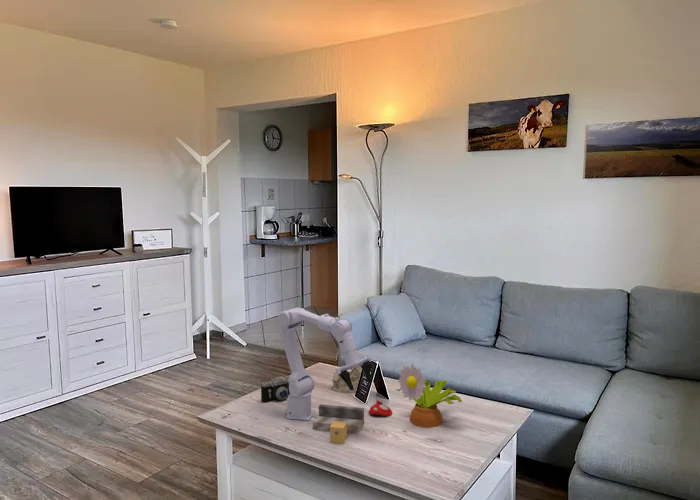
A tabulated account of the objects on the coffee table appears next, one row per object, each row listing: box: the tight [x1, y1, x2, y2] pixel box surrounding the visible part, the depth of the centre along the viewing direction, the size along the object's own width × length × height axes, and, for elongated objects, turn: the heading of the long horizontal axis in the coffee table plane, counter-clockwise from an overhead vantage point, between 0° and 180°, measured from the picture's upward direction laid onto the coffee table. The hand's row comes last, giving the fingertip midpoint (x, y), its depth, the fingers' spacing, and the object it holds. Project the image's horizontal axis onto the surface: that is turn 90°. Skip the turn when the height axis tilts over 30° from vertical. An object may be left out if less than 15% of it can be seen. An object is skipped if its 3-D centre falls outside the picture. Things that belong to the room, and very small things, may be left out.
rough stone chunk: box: [331, 363, 363, 394], centre depth 242 cm, size 16×16×15 cm
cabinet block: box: [329, 421, 348, 445], centre depth 189 cm, size 5×6×6 cm
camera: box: [260, 375, 290, 404], centre depth 228 cm, size 15×7×10 cm, turn 123°
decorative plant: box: [395, 363, 463, 429], centre depth 204 cm, size 27×24×25 cm
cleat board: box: [312, 403, 365, 435], centre depth 201 cm, size 18×10×6 cm, turn 76°
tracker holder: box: [368, 398, 393, 417], centre depth 214 cm, size 12×4×10 cm
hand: (361, 386), depth 192 cm, fingers open, 7 cm apart
